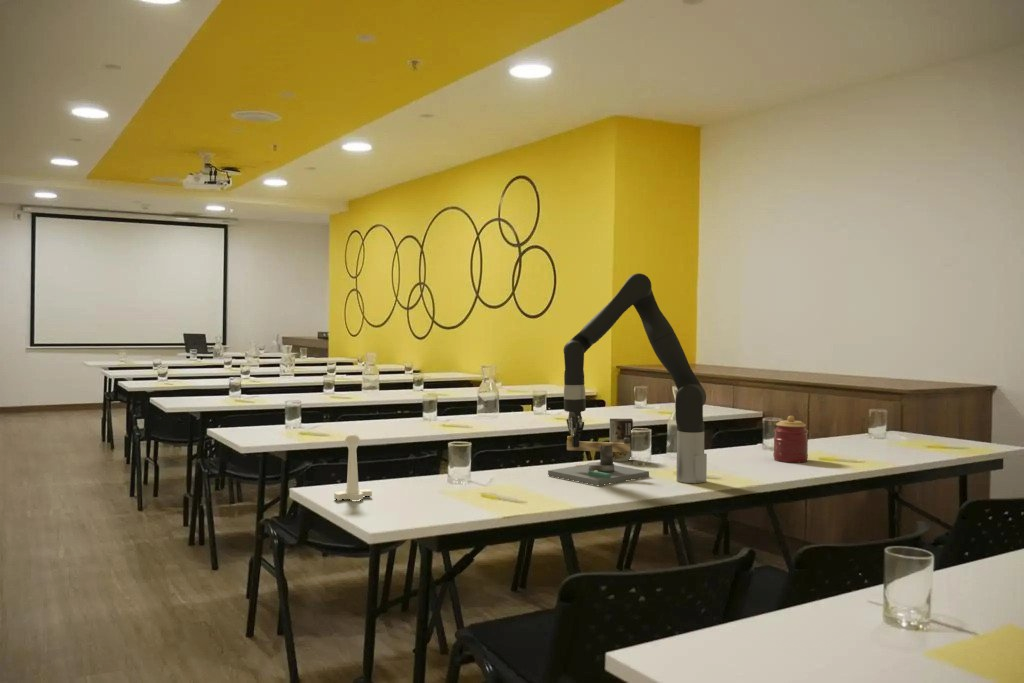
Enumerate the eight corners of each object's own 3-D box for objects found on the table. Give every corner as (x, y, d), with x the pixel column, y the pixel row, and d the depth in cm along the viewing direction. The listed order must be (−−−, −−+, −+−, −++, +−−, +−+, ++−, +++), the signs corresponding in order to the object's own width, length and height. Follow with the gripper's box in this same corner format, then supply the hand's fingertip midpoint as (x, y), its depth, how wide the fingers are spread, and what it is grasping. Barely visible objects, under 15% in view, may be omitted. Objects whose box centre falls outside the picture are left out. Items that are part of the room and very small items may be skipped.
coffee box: (632, 459, 337) (632, 418, 337) (633, 461, 331) (633, 420, 330) (609, 458, 338) (609, 418, 338) (609, 461, 332) (609, 420, 331)
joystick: (367, 495, 267) (367, 431, 266) (375, 500, 260) (375, 434, 260) (332, 499, 262) (332, 434, 261) (340, 503, 255) (340, 437, 254)
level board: (648, 476, 299) (649, 466, 299) (597, 486, 282) (597, 475, 282) (598, 467, 317) (599, 457, 317) (548, 476, 300) (548, 465, 300)
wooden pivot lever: (630, 468, 302) (630, 436, 302) (628, 473, 294) (628, 440, 293) (569, 466, 307) (569, 434, 307) (565, 470, 298) (565, 437, 298)
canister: (812, 463, 329) (813, 417, 328) (778, 463, 329) (779, 417, 328) (801, 457, 342) (802, 413, 341) (769, 457, 342) (769, 413, 341)
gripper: (591, 398, 293) (592, 448, 294) (578, 395, 306) (579, 444, 306) (570, 399, 291) (571, 450, 292) (558, 396, 304) (559, 445, 305)
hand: (575, 446), depth 299 cm, fingers closed
